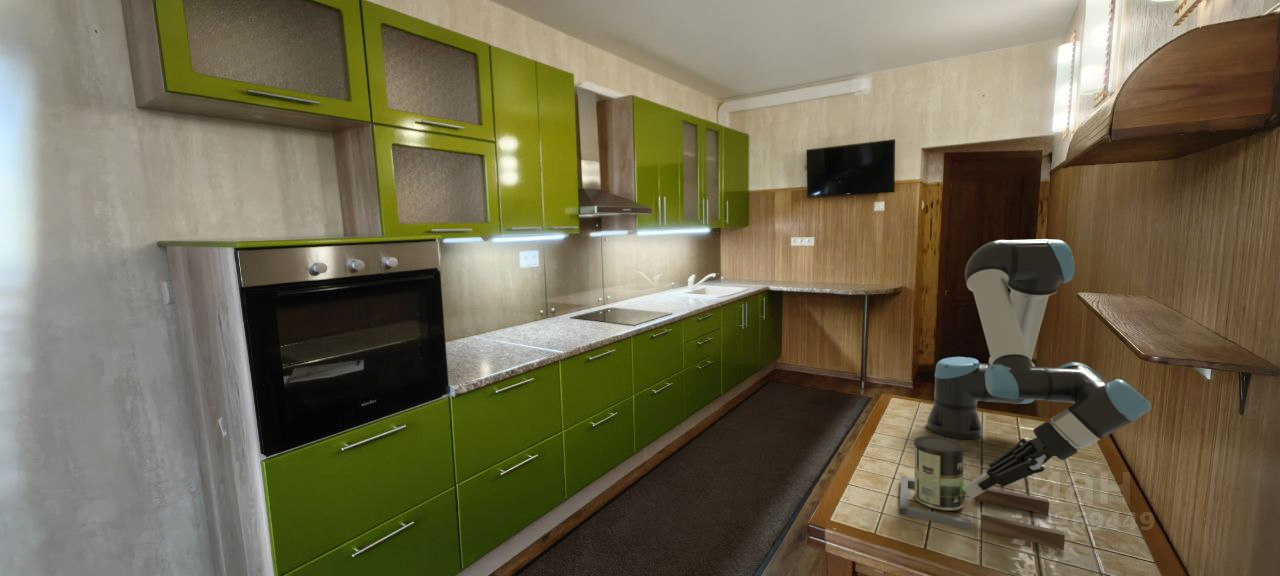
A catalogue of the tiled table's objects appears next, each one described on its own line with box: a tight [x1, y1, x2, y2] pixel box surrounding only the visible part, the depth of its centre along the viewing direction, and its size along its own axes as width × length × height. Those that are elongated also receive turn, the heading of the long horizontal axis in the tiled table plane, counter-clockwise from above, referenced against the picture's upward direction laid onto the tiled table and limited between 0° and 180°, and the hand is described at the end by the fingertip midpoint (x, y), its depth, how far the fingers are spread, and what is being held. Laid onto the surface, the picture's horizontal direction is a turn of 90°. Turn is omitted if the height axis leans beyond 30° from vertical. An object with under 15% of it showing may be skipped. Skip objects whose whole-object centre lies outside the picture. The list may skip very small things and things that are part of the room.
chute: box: [974, 487, 1066, 550], centre depth 113 cm, size 15×14×3 cm
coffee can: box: [913, 435, 965, 511], centre depth 121 cm, size 10×10×14 cm
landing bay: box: [899, 475, 972, 531], centre depth 121 cm, size 16×14×2 cm
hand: (967, 492), depth 117 cm, fingers closed
